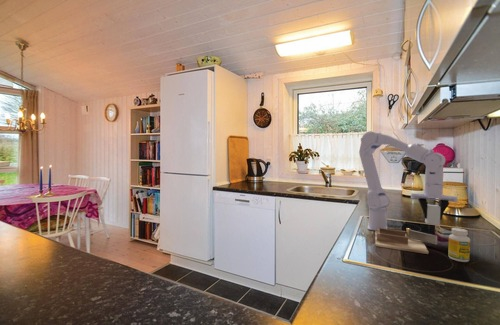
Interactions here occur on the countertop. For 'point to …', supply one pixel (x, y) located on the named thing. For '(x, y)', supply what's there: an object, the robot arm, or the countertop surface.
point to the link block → (433, 215)
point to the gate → (421, 236)
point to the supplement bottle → (459, 245)
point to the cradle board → (398, 241)
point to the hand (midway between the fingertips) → (432, 218)
